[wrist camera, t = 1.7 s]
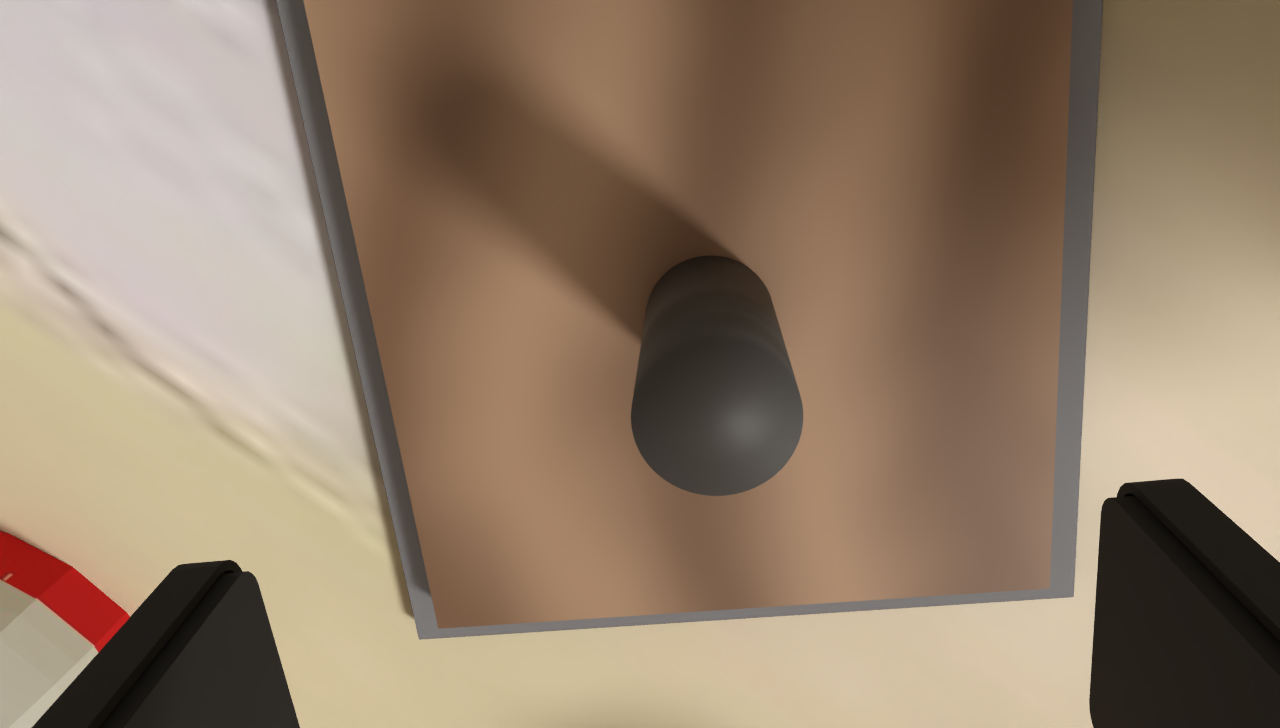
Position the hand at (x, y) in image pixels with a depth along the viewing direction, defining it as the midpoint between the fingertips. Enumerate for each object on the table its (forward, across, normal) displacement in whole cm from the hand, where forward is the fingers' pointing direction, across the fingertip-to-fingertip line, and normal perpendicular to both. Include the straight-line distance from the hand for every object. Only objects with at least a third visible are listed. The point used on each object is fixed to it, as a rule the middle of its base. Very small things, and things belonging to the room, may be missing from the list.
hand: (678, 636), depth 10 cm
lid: (+13, -1, 0) cm, 13 cm away
